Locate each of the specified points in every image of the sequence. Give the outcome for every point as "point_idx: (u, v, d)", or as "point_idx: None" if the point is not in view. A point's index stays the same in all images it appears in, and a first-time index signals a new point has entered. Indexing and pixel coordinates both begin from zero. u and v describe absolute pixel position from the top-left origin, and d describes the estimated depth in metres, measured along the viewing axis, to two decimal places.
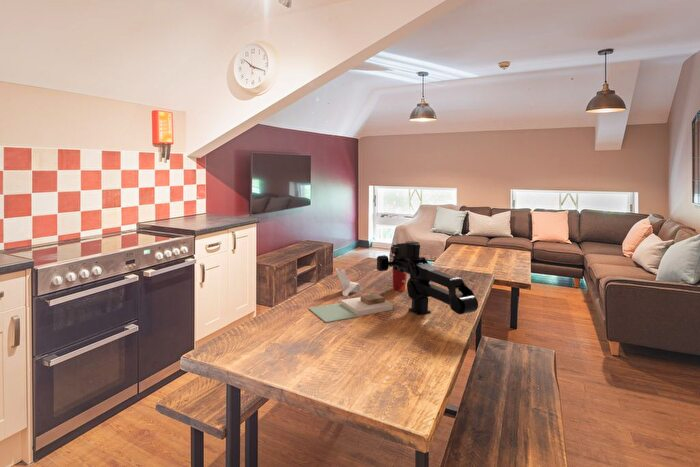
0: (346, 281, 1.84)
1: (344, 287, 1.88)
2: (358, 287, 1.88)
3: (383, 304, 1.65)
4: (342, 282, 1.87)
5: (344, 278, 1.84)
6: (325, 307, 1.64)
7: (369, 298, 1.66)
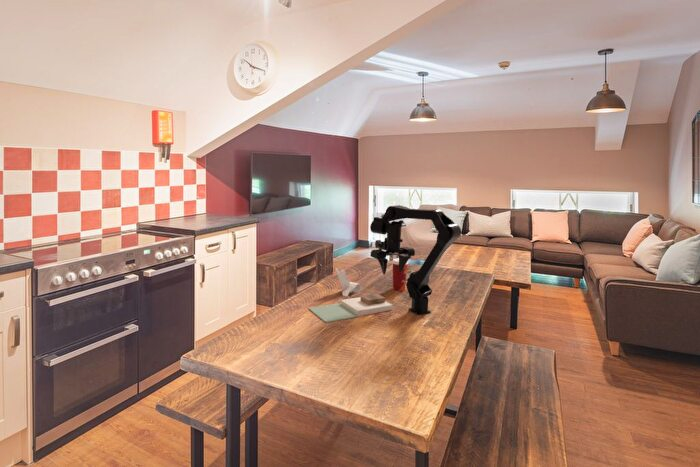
0: (346, 281, 1.84)
1: (344, 287, 1.88)
2: (358, 287, 1.87)
3: (383, 304, 1.65)
4: (342, 282, 1.86)
5: (344, 278, 1.83)
6: (325, 307, 1.64)
7: (369, 298, 1.66)
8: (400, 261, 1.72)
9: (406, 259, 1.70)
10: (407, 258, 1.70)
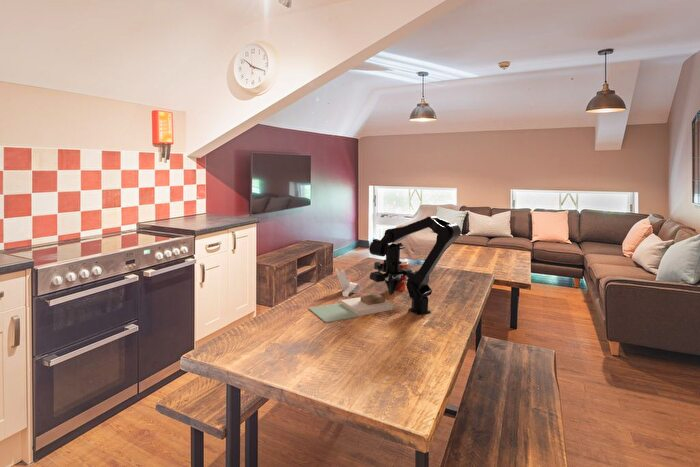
0: (346, 281, 1.83)
1: (343, 287, 1.87)
2: (357, 287, 1.87)
3: (383, 304, 1.65)
4: (341, 283, 1.86)
5: (344, 278, 1.83)
6: (325, 307, 1.64)
7: (369, 298, 1.66)
8: None
9: (398, 282, 1.69)
10: (399, 281, 1.69)
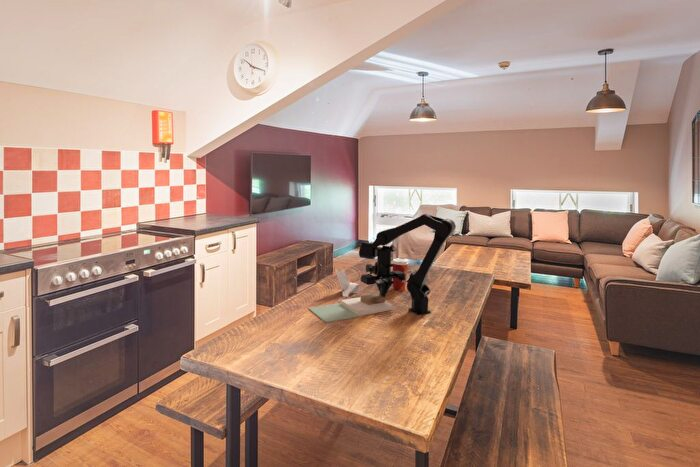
0: (346, 282, 1.83)
1: (343, 288, 1.87)
2: (357, 288, 1.87)
3: (383, 304, 1.65)
4: (341, 283, 1.85)
5: (344, 279, 1.82)
6: (325, 307, 1.64)
7: (369, 298, 1.66)
8: None
9: (389, 284, 1.68)
10: (390, 283, 1.68)
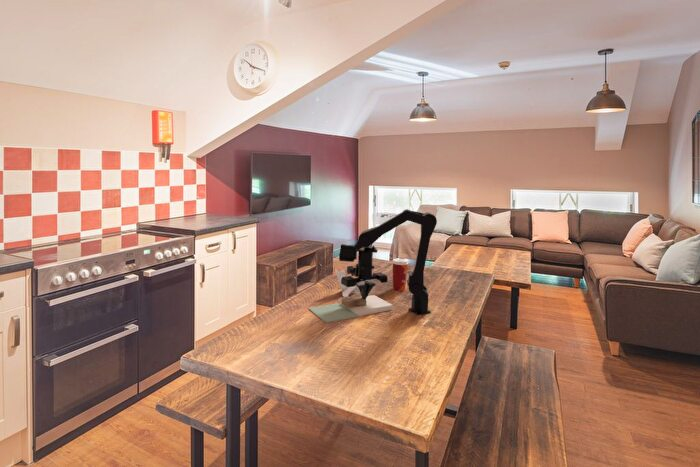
0: None
1: (343, 288, 1.86)
2: (357, 288, 1.87)
3: (383, 304, 1.65)
4: None
5: None
6: (325, 307, 1.64)
7: (350, 301, 1.61)
8: None
9: (370, 287, 1.63)
10: (371, 286, 1.63)
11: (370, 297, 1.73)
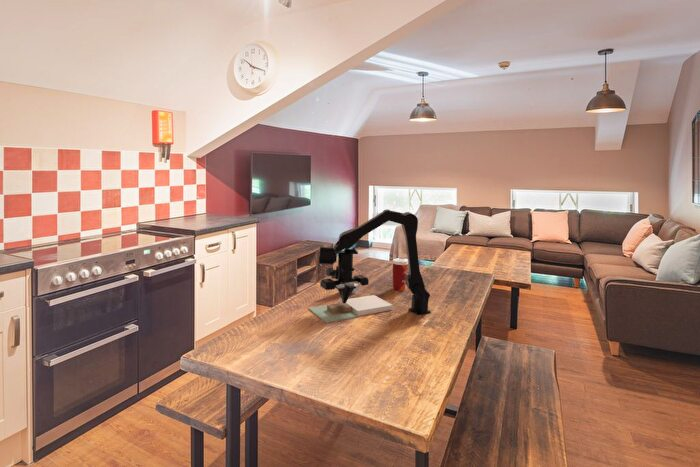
0: None
1: None
2: (357, 288, 1.86)
3: (383, 304, 1.65)
4: None
5: None
6: (325, 307, 1.64)
7: (335, 307, 1.59)
8: None
9: (350, 290, 1.59)
10: (351, 289, 1.59)
11: (370, 297, 1.73)
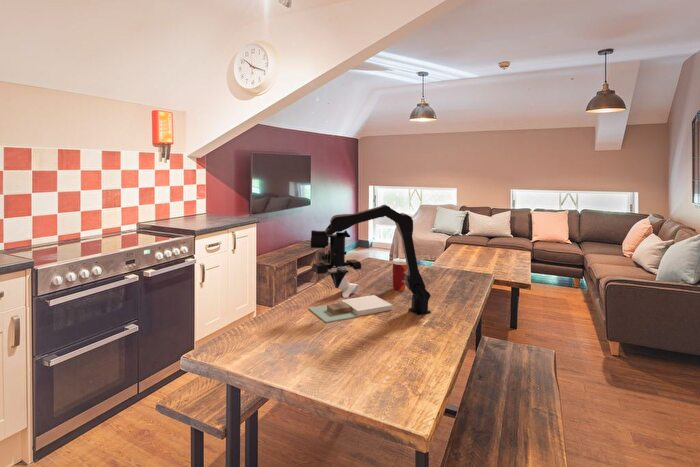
0: (345, 282, 1.82)
1: (342, 288, 1.86)
2: (356, 288, 1.86)
3: (383, 304, 1.65)
4: (341, 284, 1.84)
5: (343, 279, 1.81)
6: (325, 307, 1.64)
7: (335, 307, 1.59)
8: None
9: (343, 274, 1.56)
10: (344, 273, 1.56)
11: (370, 297, 1.73)
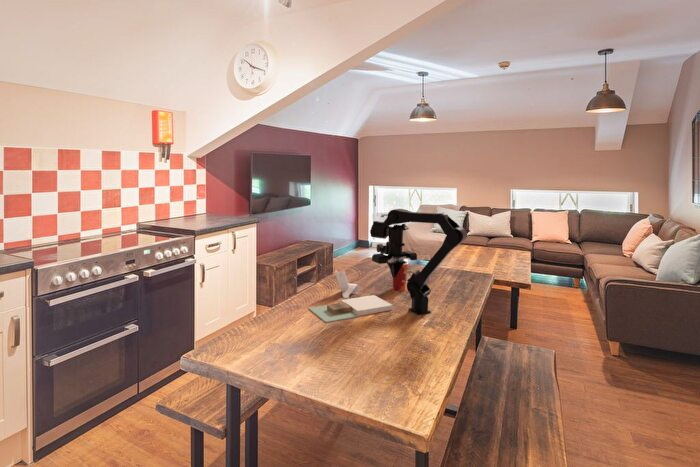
0: (345, 283, 1.81)
1: (342, 289, 1.85)
2: (356, 288, 1.86)
3: (383, 304, 1.65)
4: (340, 284, 1.83)
5: (343, 280, 1.81)
6: (325, 307, 1.64)
7: (335, 307, 1.59)
8: None
9: (401, 264, 1.65)
10: (402, 263, 1.65)
11: (370, 297, 1.73)
